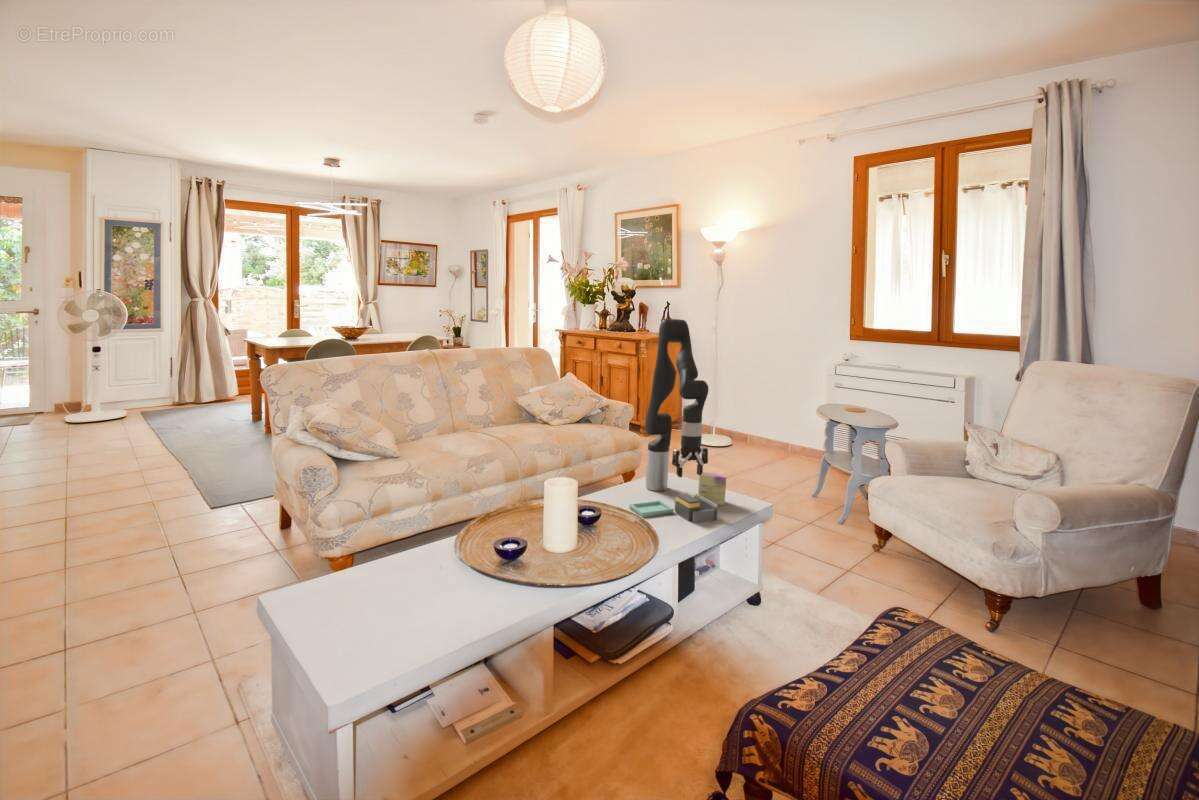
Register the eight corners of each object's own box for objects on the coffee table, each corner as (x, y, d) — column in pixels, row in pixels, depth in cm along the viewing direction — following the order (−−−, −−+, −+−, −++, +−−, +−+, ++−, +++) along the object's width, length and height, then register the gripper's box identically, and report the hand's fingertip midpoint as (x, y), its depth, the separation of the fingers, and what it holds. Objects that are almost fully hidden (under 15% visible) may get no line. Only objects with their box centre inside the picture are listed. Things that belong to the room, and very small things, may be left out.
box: (723, 500, 245) (725, 473, 243) (724, 505, 239) (726, 477, 237) (697, 499, 246) (699, 471, 244) (698, 503, 240) (700, 475, 238)
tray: (629, 508, 232) (629, 504, 232) (659, 504, 238) (659, 500, 237) (642, 517, 223) (642, 512, 222) (673, 513, 228) (673, 508, 228)
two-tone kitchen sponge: (675, 513, 228) (676, 494, 227) (685, 512, 230) (686, 493, 229) (688, 521, 220) (689, 502, 219) (698, 519, 222) (699, 500, 221)
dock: (674, 510, 231) (675, 496, 230) (696, 508, 235) (697, 494, 234) (694, 523, 219) (694, 507, 218) (716, 519, 223) (717, 505, 222)
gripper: (702, 430, 227) (699, 471, 229) (669, 432, 221) (667, 474, 223) (713, 434, 220) (710, 476, 222) (680, 436, 214) (678, 480, 216)
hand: (689, 475), depth 223 cm, fingers open, 8 cm apart
